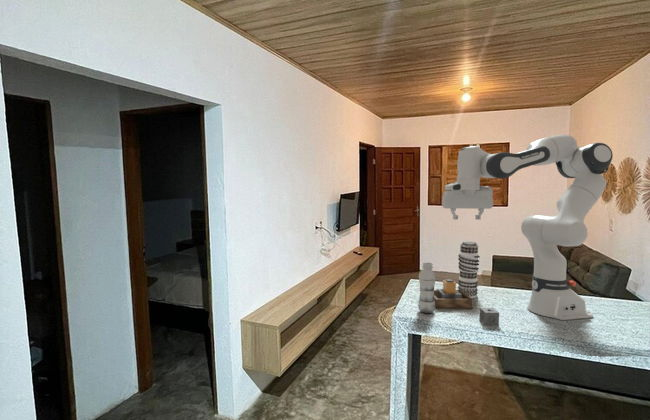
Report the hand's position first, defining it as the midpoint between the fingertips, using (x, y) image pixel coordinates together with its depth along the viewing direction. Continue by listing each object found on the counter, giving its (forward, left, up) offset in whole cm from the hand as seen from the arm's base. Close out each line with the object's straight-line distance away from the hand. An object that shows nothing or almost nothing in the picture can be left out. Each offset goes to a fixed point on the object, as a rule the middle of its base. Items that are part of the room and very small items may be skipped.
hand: (466, 219), depth 147 cm
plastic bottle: (+18, +6, -37) cm, 42 cm away
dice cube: (-2, +17, -37) cm, 41 cm away
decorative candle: (-8, -15, -37) cm, 41 cm away
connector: (+5, -4, -36) cm, 37 cm away
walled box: (+5, -4, -37) cm, 38 cm away
